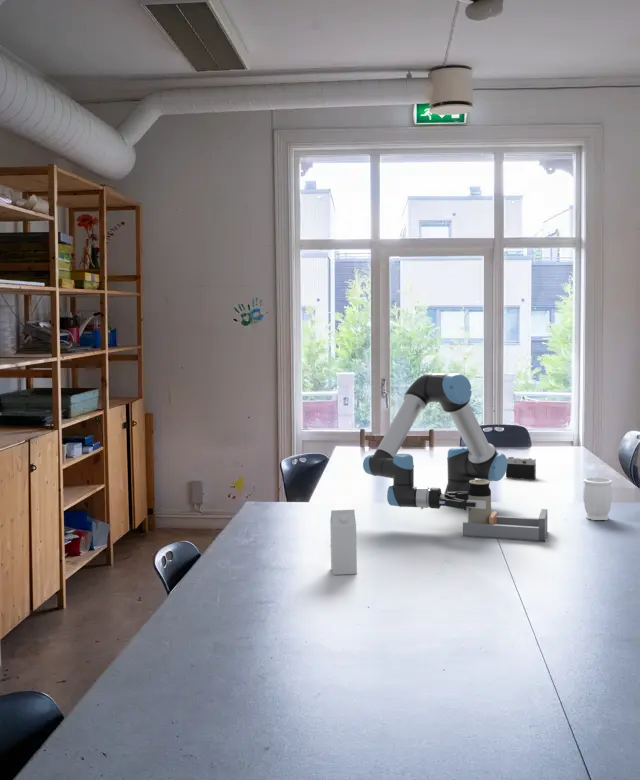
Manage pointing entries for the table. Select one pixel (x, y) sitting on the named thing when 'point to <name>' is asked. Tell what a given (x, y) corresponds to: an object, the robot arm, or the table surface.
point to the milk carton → (343, 542)
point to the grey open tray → (510, 528)
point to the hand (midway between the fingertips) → (488, 500)
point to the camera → (521, 468)
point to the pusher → (493, 518)
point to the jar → (597, 498)
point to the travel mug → (481, 492)
